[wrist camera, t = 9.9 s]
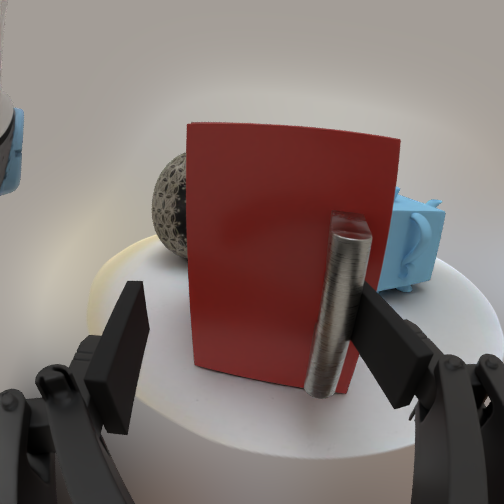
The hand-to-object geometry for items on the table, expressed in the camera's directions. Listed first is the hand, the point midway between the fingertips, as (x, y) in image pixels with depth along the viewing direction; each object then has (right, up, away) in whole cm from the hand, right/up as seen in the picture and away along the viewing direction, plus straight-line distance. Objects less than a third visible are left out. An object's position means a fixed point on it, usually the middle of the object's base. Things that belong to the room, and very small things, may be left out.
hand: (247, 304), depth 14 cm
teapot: (+19, -1, +25) cm, 32 cm away
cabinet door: (+1, -8, +5) cm, 10 cm away
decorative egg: (-8, +2, +30) cm, 31 cm away
